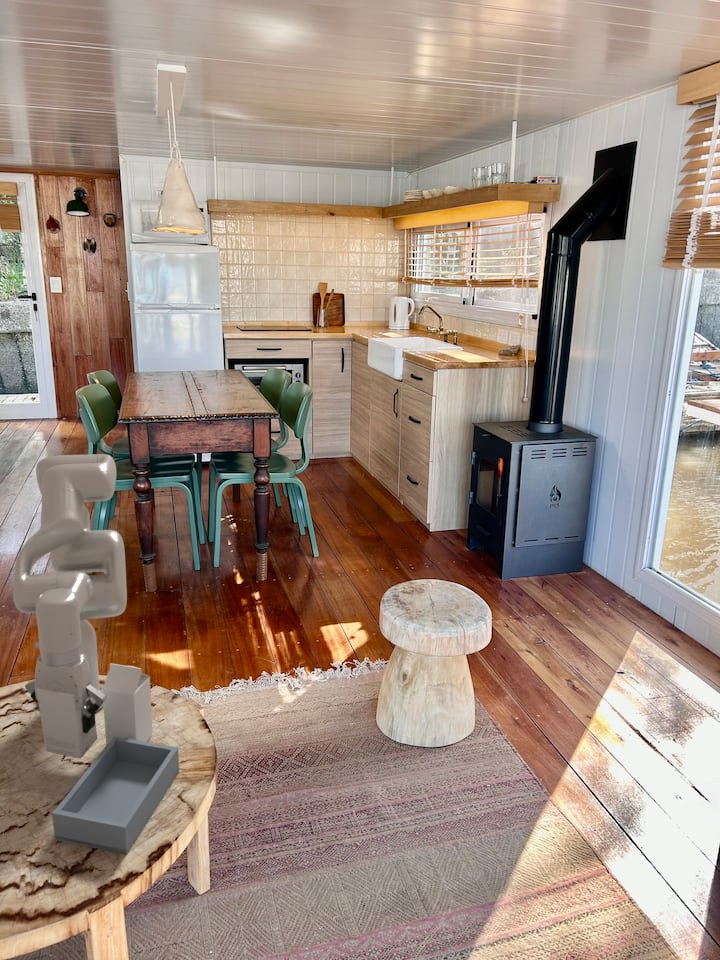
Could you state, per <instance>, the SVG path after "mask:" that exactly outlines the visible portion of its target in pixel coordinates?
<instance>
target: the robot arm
mask: <svg viewBox="0 0 720 960" xmlns="http://www.w3.org/2000/svg"><path fill="white" fill-rule="evenodd" d="M35 477H36V481H37V485H38V489H39V492H40V494H41V508H40V510H41V511H40V513H41V514H40V528H39V529H38V530H37V531H36V532H35V533H34V534H32V535H31V536H30V537H29V539H28V540H27V541H26V542H25V543H24V545H23V546H22V547H21V549H20V551H19V552H18V554H17V556H16V559H15V562H14V563H15V564H14V571H13V572H14V573H13V587H12V596H13V597H12V598H13V603H14V604H13V605H14V606H15V608H16V609H17V611H19V612H20V613H23V614H35V615H36V616H35V617H36V624H37V625H36V626H37V633H38V634H37V635H38V640H36V642H35V646H34V647H35V648H36V649H38V650H39V653H40V654H39V655H38V656H37V659H36V664H35V672H34V679H32V680H29V681H28V682H27V683H26V684H25V685H24V687H25V689H26V691H27V692H28V694H30V695H29V697H30V698H31V699H32V700H33V701H34V702H35V703H36V705H35V706H36V707H37V708H38V709H39V703H38V696H37V689H43V690H49V691H54V692H60V693H61V692H63V693H68V694H74V695H75V704H76V710H79V709H81V711H82V712H83V714H84V715H83V717H82V723H83V732H84V733H88V732H89V730H90V729H91V728H93V726H94V725H95V722H96V712H99V711H100V710H101V709H102V708H104V705H103V703H104V701H105V700H106V698H107V697H106V696H105V695H104V694H103V691H102V689H103V686H101V685H100V674H99V663H98V661H99V660H98V647H97V645H98V644H97V633H96V631H95V628H94V627H93V625H92V624H91V622H90V621H89V620H92V619H104V618H105V619H106V618H113V617H118V616H120V615H122V614H123V613H124V612H125V611H126V608H127V604H128V603H127V601H128V589H127V588H128V587H127V569H126V567H127V566H126V553H125V552H126V551H125V544H124V540H123V537H122V535H121V534H120V533H119V532H118V531H116V530H113V529H97V530H96V529H95V530H92V529H91V524H90V523H91V522H90V521H91V520H90V518H91V516H90V512H89V510H88V508H87V507H86V506H85V503H89V502H106V501H109V500H110V499H112V497H113V496H114V493H115V489H116V481H117V465H116V462H115V460H114V458H113V457H112V455H110V454H106V453H99V454H98V453H97V454H96V453H95V454H94V453H93V454H60V455H52V456H47V457H44V458H42V459H40V460H39V461H38V462H37V464H36V466H35ZM47 554H50V563H51V567H52V568H53V570H54V571H55V572H47V573H34V574H31V573H32V569H33V567H34V565H35V564H36V563H37V562H38V561H39V560H40V559H41V558H42V557H44V556H46V555H47ZM96 572H97V573H100V572H102V573H103V574H100V575H89V574H87V573H96ZM91 697H92V698H93V700H92V699H91ZM77 700H78V701H77ZM86 702H87V704H88V706H89V708H87V707H86V705H85V703H86Z"/></svg>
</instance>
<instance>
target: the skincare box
mask: <svg viewBox="0 0 720 960" xmlns="http://www.w3.org/2000/svg"><path fill="white" fill-rule="evenodd" d="M37 696H38V703H39V708H38V709H39V717H40V720H41V728H42V735H43V741H44V747H45V752H46V753H51V754H56V755H61V756H66V757H71V758H75V759H79V760H81V759H82V758H83V757H84V756H85V754H86V753H87V752H88V751H89V749H90V748H91V747H92V746H93V744H94V743H96V741H97V740H98V733H97V732H98V731H97V725H96V721H95V725H94V726H93V728H91V729H90V730H89V732H88V733H84V732H83V723H82V717H83V715H84V714H83V712H82V711H81V709H79V710H76V704H75V695H74V694H68V693H63V692H61V693H60V692H54V691H49V690H43V689H37ZM91 699H92V700H93V698H92V697H91ZM77 701H78V700H77ZM85 705H86V707H87V708H89V706H88V704H87V702H86V703H85Z"/></svg>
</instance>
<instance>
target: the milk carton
mask: <svg viewBox="0 0 720 960" xmlns="http://www.w3.org/2000/svg"><path fill="white" fill-rule="evenodd" d="M102 687H103V689H102V691H103V694H104V695H105V696H106V697H107V698H106V700H105V701H104V703H103V705H104V706H103V717H104V719H103V721H104V733H105V745H106V746H107V745H108V744H109V742H110V741H111V740H112V739H113V738H114V736H115V737H121V738H127V739H132V740H138V741H144V742H149V740H150V738H152V736H153V717H152V695H151V676H150V675H147V674H145V673H144V672H143V673H142V667H141V668H140V667H137V666H133V665H123V664H119V663H118V664H117V663H109V669H108V672H107V675H106V679H105V681H104V683H103V686H102ZM106 746H105V747H106Z"/></svg>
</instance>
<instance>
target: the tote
mask: <svg viewBox="0 0 720 960" xmlns="http://www.w3.org/2000/svg"><path fill="white" fill-rule="evenodd" d="M104 747H105V748H103V750H102V751H101V753H99V755H98V756H97V757H96V758H95V760H94V761H93V762H92V763H91V765H90V766H89V767H88V768H87V770H85V772H84V773H83V775H82V776H81V777H80V778H79V780H78V781H77V782H76V783H75V785H74V786H73V787H71V788H72V789H70V791H69V792H68V793H67V795H66V796H64V798H63V799H62V800H61V802H60V803H59V804H58V806H57V807H56V808H55V810H53V812H52V813H51V814H52V823H53V833H54V840H55V841H58V842H63V843H67V844H72V845H73V844H74V845H79V846H82V847H88V848H91V849H92V848H94V849H96V848H97V850H103V851H106V852H111V853H117V854H123V855H128V854H129V852H130V851H131V849H132V847H133V846H134V844H135V842H136V841H137V839H138V838H139V837H140V836H141V835H140V834H141V833H142V831H144V828H145V827H146V825H147V823H148V822H149V820H150V818H151V817H152V816H153V814H154V812H155V810H156V809H157V808H158V806H159V804H160V803H161V801H162V800H163V798H164V796H165V795H166V793H167V792H168V790H169V789H170V787H171V786H172V784H173V782H174V781H175V779H176V777H177V776H178V774H179V772H180V764H179V760H180V759H179V758H180V757H179V747H176V746H171V745H165V744H159V743H154V742H149V741H147V742H144V741H138V740H132V739H127V738H121V737H115V736H114V738H113V739H112V740H111V741H110V742H109V744H108V745H107V746H104Z"/></svg>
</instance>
